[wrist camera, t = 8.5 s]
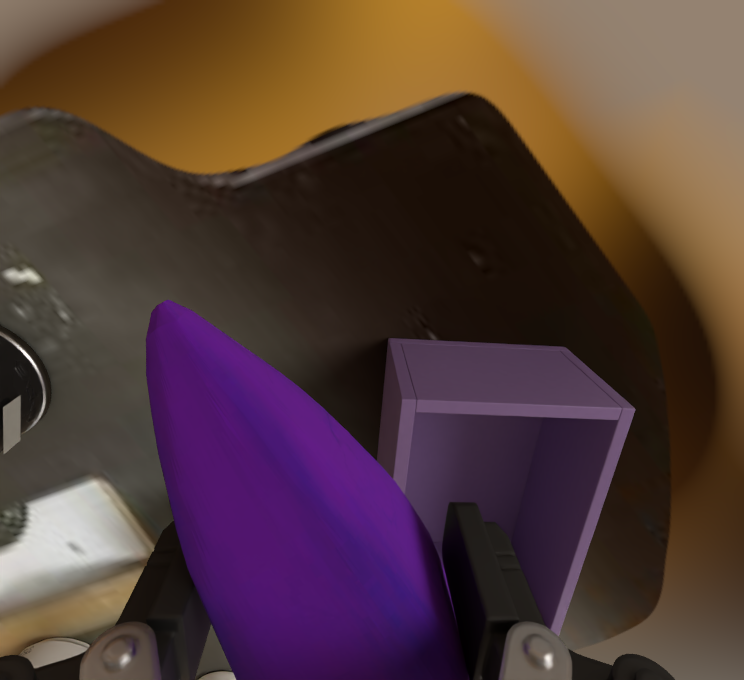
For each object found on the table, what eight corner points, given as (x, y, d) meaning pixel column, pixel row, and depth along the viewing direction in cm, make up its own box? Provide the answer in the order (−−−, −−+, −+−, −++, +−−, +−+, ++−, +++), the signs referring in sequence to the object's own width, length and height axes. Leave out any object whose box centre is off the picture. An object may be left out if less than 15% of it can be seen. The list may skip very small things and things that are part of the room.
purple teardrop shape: (216, 272, 7) (552, 836, 11) (279, 243, 11) (496, 642, 15) (-36, 402, 7) (372, 889, 11) (123, 323, 12) (371, 687, 16)
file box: (388, 337, 32) (401, 399, 24) (565, 346, 33) (636, 408, 25) (369, 540, 39) (374, 640, 31) (515, 542, 40) (557, 640, 32)
